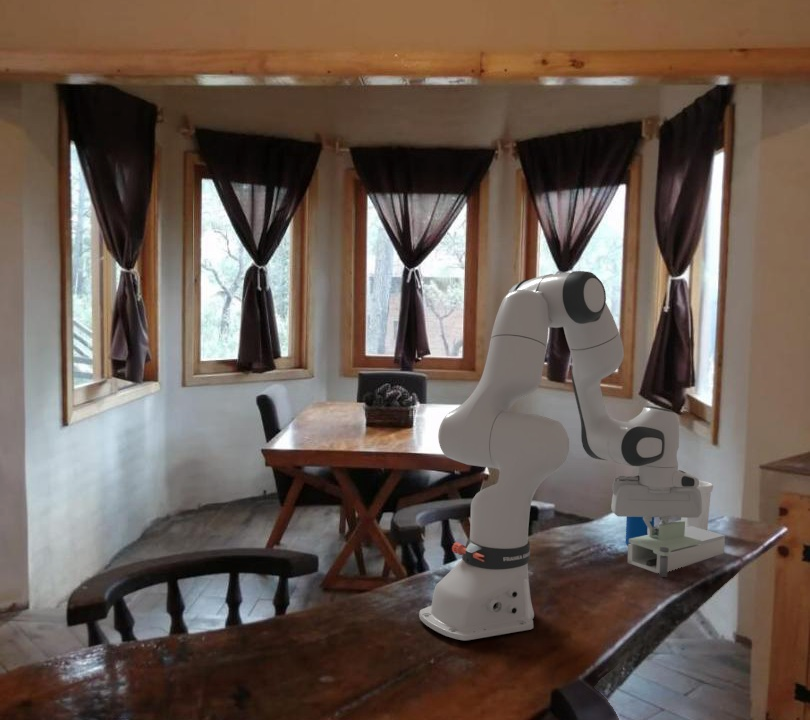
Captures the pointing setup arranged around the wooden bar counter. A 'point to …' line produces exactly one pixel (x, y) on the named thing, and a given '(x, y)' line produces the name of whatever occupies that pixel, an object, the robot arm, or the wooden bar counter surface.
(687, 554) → the white open box
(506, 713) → the wooden bar counter surface
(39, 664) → the wooden bar counter surface
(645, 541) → the cover
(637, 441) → the robot arm
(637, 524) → the beverage can
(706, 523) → the cup
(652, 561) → the cord
